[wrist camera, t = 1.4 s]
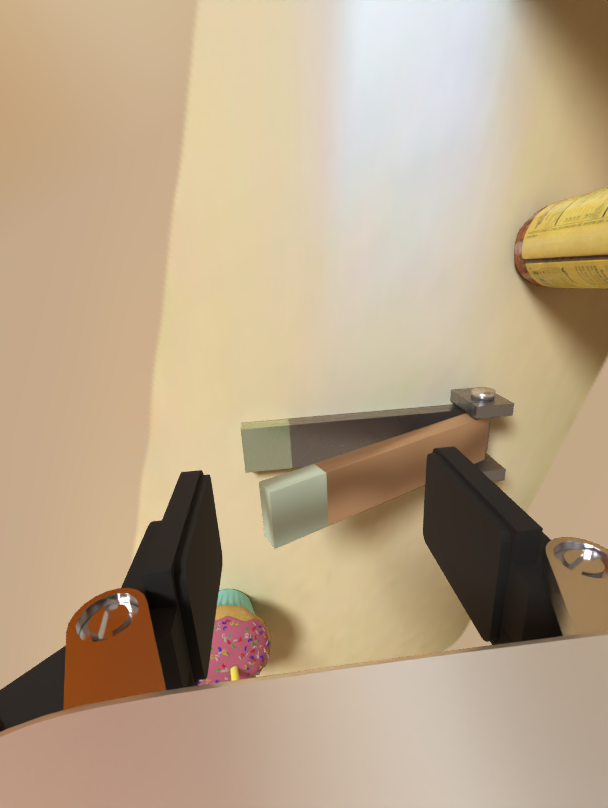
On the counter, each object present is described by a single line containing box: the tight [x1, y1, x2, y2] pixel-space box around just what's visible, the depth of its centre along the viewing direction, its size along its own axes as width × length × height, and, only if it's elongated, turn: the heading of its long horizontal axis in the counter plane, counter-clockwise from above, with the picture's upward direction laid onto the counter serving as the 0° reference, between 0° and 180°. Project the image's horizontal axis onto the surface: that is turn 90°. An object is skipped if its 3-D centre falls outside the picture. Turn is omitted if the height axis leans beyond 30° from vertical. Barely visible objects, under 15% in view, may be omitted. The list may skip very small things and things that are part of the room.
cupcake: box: [198, 589, 270, 686], centre depth 35 cm, size 9×8×12 cm
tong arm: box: [259, 413, 489, 549], centre depth 29 cm, size 4×20×2 cm, turn 93°
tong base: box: [241, 387, 514, 481], centre depth 34 cm, size 8×22×4 cm, turn 93°
